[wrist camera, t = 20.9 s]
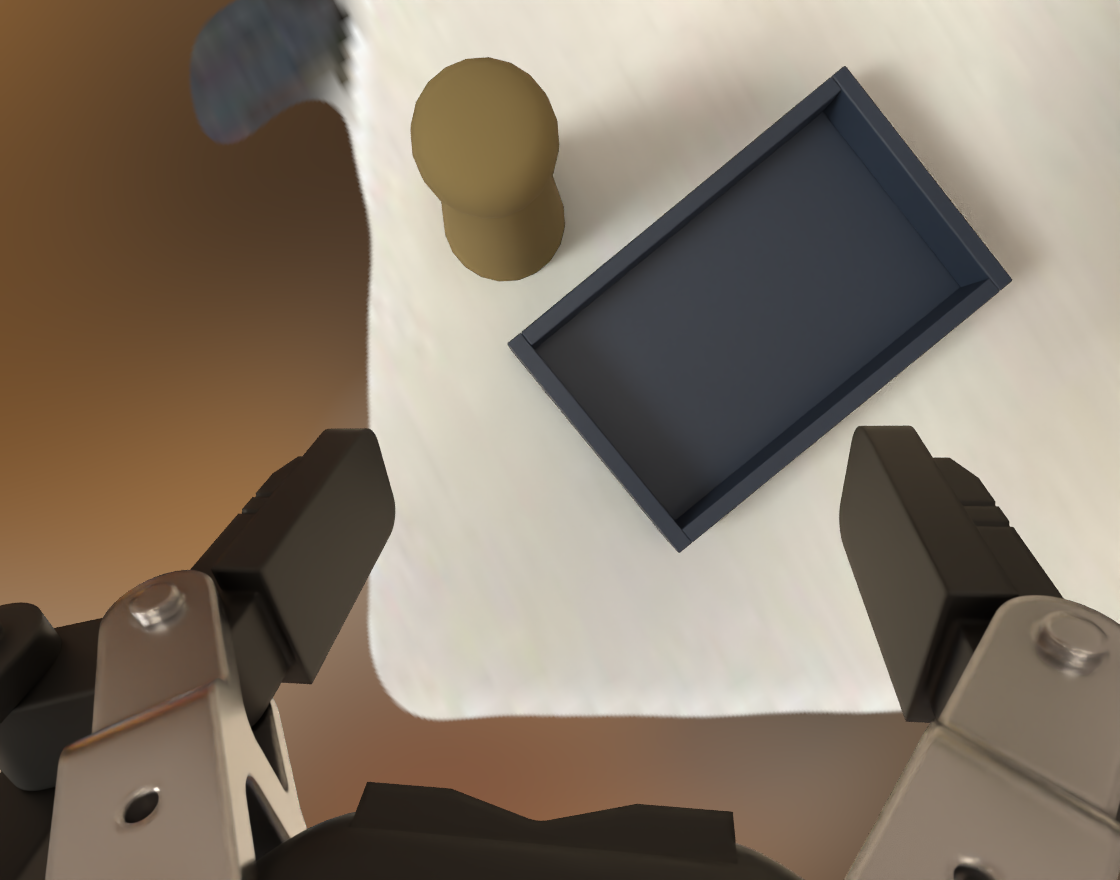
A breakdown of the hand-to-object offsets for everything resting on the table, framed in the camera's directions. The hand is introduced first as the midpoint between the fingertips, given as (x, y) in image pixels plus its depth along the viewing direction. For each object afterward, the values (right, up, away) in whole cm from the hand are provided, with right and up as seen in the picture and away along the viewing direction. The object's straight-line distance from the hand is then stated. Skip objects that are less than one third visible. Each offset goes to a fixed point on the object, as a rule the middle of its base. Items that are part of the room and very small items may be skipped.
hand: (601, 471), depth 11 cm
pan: (+9, +7, +21) cm, 24 cm away
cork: (-3, +11, +21) cm, 24 cm away
